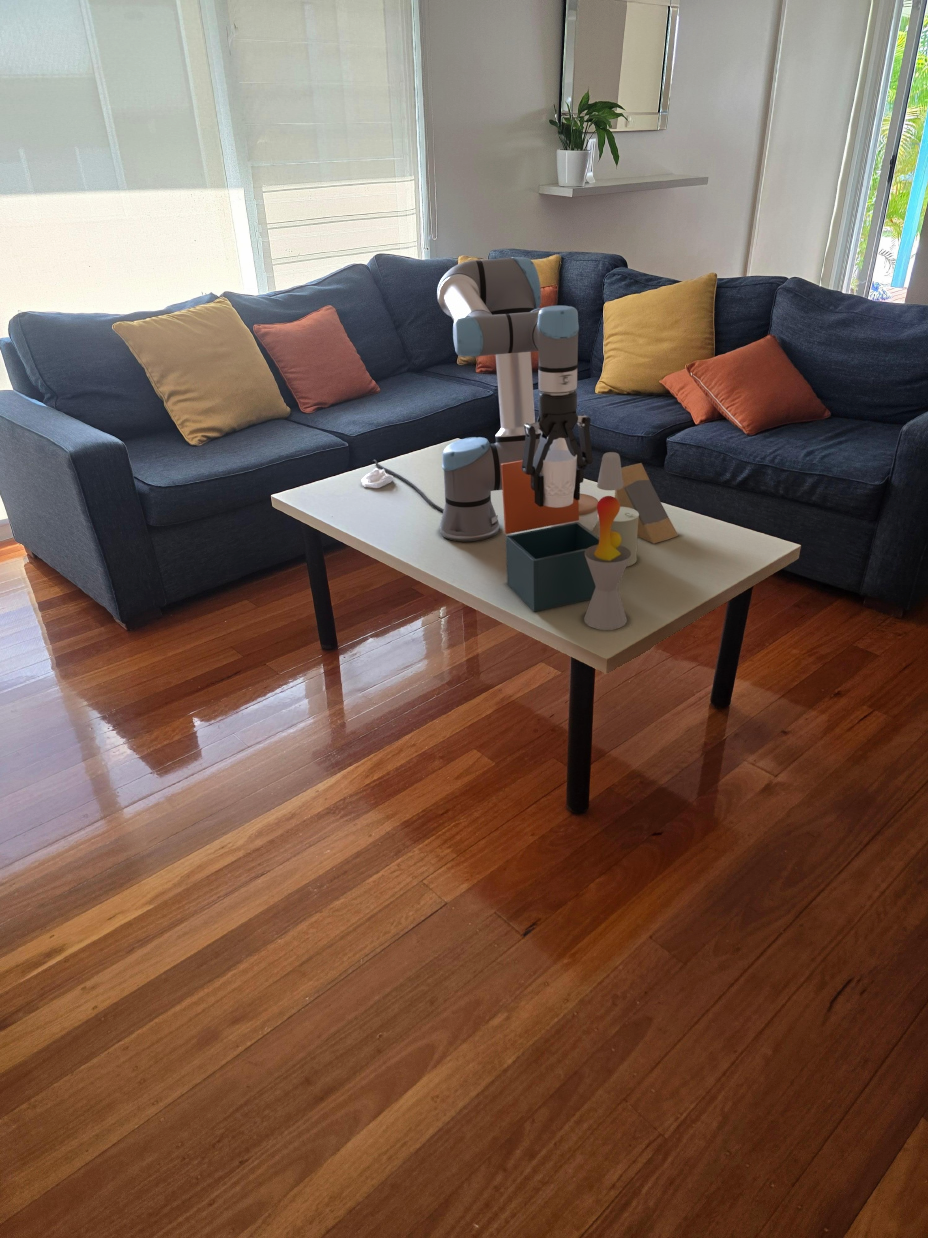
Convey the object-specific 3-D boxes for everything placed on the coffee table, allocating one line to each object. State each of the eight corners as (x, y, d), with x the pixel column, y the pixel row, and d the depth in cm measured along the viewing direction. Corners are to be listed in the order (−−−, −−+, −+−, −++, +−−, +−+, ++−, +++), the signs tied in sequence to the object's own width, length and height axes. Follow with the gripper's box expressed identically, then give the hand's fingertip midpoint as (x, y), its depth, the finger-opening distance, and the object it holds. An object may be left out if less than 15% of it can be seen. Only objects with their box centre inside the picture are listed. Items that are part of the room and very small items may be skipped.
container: (608, 595, 180) (610, 545, 174) (534, 612, 175) (533, 561, 169) (577, 569, 192) (578, 521, 186) (507, 584, 187) (505, 535, 181)
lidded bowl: (562, 550, 202) (563, 507, 196) (538, 532, 212) (538, 491, 207) (607, 539, 206) (609, 497, 201) (581, 522, 216) (582, 482, 211)
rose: (393, 473, 245) (360, 475, 244) (394, 487, 247) (361, 490, 246) (391, 462, 253) (359, 465, 253) (393, 476, 256) (361, 479, 255)
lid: (577, 451, 180) (575, 451, 180) (502, 464, 175) (500, 463, 175) (579, 520, 186) (577, 519, 187) (506, 534, 181) (504, 533, 182)
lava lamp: (611, 634, 165) (618, 464, 148) (574, 621, 171) (576, 456, 154) (636, 617, 171) (645, 451, 154) (599, 605, 176) (604, 443, 159)
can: (627, 570, 190) (630, 521, 184) (590, 563, 195) (591, 515, 189) (642, 555, 197) (645, 507, 191) (606, 548, 201) (608, 501, 195)
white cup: (550, 493, 178) (550, 447, 174) (583, 499, 174) (584, 452, 169) (531, 504, 173) (530, 458, 168) (564, 511, 169) (564, 464, 164)
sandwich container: (653, 544, 202) (657, 485, 195) (612, 525, 214) (614, 468, 207) (679, 535, 206) (684, 477, 199) (638, 517, 218) (641, 461, 210)
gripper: (517, 402, 157) (519, 515, 167) (613, 388, 162) (609, 498, 173) (502, 393, 163) (504, 503, 174) (595, 380, 169) (592, 487, 180)
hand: (557, 500), depth 173 cm, fingers closed on white cup, 8 cm apart
